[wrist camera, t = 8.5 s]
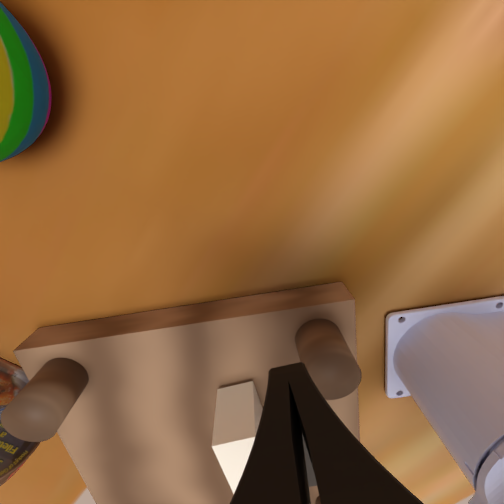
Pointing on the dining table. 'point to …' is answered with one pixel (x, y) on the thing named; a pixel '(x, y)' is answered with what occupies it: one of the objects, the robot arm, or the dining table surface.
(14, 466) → the tin
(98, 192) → the dining table surface
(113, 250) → the dining table surface
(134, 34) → the dining table surface
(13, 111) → the decorative egg
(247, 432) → the folding leg
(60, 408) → the stool seat
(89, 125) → the dining table surface
